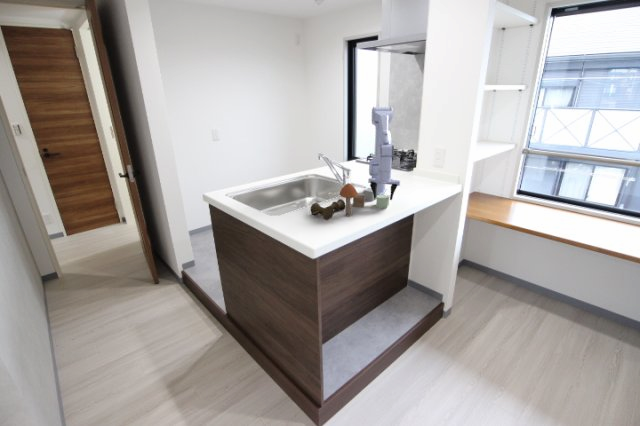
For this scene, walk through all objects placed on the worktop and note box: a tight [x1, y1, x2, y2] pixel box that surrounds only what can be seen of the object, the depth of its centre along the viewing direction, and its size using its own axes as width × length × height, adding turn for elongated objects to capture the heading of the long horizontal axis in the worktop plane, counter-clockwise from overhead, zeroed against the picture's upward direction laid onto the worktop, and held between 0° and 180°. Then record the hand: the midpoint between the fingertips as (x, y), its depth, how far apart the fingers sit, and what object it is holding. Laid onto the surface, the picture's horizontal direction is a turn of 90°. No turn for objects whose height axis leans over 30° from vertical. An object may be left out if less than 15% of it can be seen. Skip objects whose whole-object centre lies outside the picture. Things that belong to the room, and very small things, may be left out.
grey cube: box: [363, 187, 378, 202], centre depth 162 cm, size 5×5×5 cm
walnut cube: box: [352, 193, 365, 208], centre depth 154 cm, size 5×5×5 cm
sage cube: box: [375, 194, 390, 209], centre depth 153 cm, size 5×5×5 cm
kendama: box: [310, 198, 346, 221], centre depth 144 cm, size 6×10×20 cm
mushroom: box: [339, 183, 359, 217], centre depth 140 cm, size 8×8×15 cm
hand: (383, 198), depth 152 cm, fingers open, 7 cm apart
